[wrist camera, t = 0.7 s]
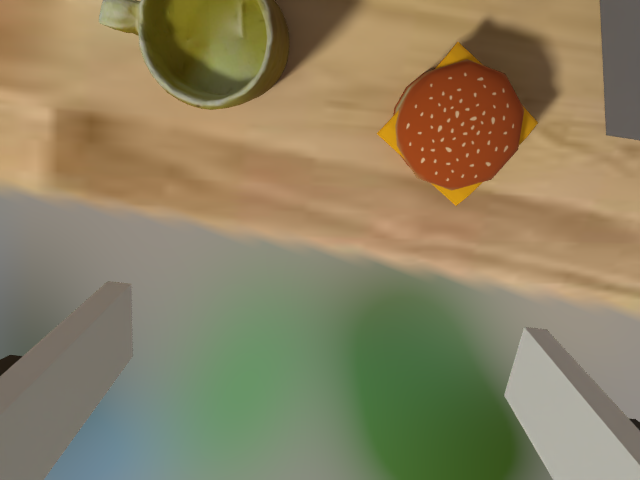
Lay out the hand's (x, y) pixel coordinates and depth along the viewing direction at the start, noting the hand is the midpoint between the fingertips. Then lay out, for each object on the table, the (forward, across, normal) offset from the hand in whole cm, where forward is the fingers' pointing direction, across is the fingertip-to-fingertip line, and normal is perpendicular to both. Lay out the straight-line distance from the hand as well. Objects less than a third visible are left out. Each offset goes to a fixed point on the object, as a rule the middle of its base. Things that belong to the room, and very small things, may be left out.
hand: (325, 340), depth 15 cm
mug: (+26, -10, +11) cm, 30 cm away
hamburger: (+26, +9, +6) cm, 29 cm away
